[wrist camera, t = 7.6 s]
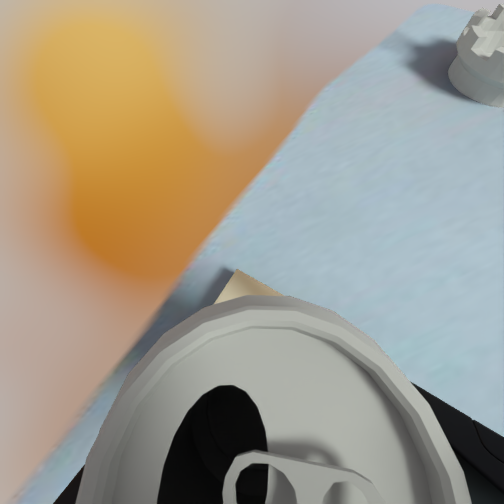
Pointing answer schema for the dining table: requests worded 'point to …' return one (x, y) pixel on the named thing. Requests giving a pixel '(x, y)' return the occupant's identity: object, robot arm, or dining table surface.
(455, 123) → the dining table surface
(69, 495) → the robot arm
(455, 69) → the flag stand
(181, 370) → the can
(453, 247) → the dining table surface
